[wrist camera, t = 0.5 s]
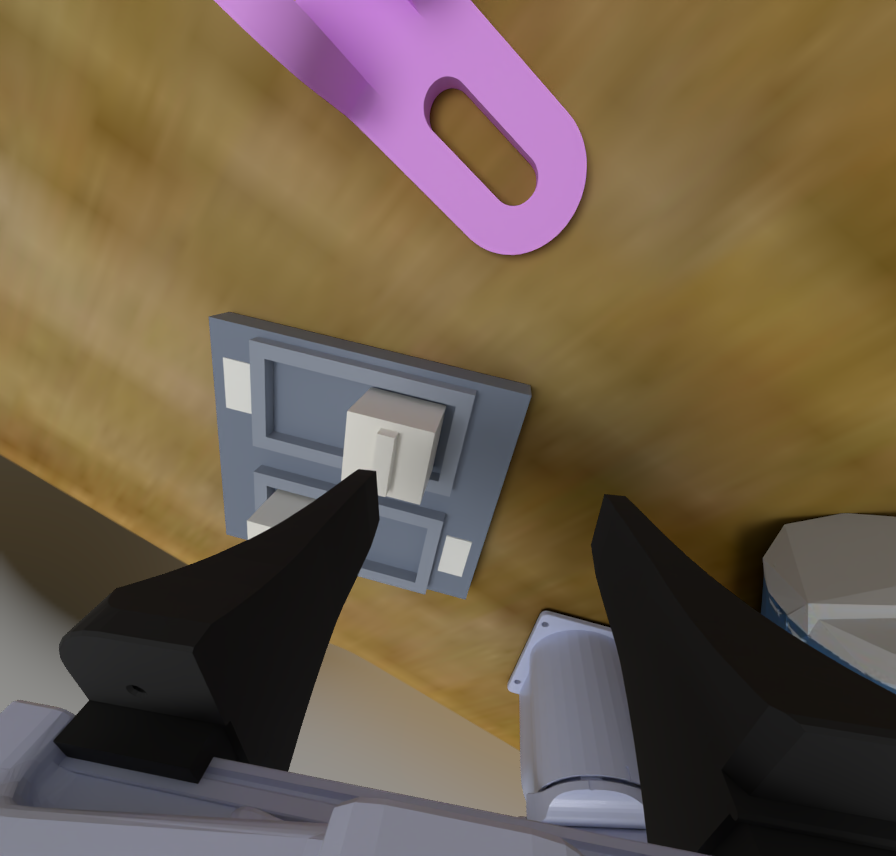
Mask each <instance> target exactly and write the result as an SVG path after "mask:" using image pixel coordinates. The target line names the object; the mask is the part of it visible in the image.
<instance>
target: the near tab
mask: <svg viewBox="0 0 896 856" xmlns="http://www.w3.org/2000/svg"><path fill="white" fill-rule="evenodd" d="M445 410H446V406H445V405H441V404H437V403H433V402H429V401H425V400H421V399H417V398H413V397H409V396H405V395H401V394H397V393H393V392H389V391H385V390H381V389H377V388H373V387H371V388H370V389H369V390H368V391H367V392H366V393H365V394H364V395H363V396H362V397H361V398H360V399H359V400H358V401H357V402H356V403H355V404H354V405H353V406H352V407H351V408H350V409H349V410H348V411H347V419H346V430H345V441H344V452H343V463H342V475H341V481H342V480H344V479H345V478H346V477H348V476H349V475H350V474H352V473H353V472H355V471H356V470H358V469H363V470H373V471H376V475H377V489H378V496H382V497H386V496H388V497H391V498H395V499H399V500H403V501H407V502H410V503H414V504H418V505H420V503H421V501H422V498H423V495H424V492H425V489H426V487H427V484H428V481H429V478H430V475H431V473H432V469H433V465H434V460H435V456H436V451H437V446H438V442H439V437H440V433H441V428H442V424H443V419H444V414H445Z"/></svg>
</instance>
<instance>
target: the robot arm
mask: <svg viewBox="0 0 896 856" xmlns="http://www.w3.org/2000/svg"><path fill="white" fill-rule="evenodd" d="M379 521H380V516H379V503H378V489H377V475H376V471H373V470H363V469H358V470H356V471H355V472H353V473H352V474H350V475H349V476H348V477H346V478H345V479H344V480H342V481H341V482H340V483H338V484H337V485H336V486H334V487H333V488H331V489H330V490H329V491H327V492H326V493H324V494H323V495H322V496H320V497H319V498H317V499H316V500H315V501H313V502H312V503H310V504H309V505H307V506H306V507H304V508H302V509H301V510H299V511H298V512H296V513H295V514H293V515H292V516H290V517H289V518H287V519H285V520H284V521H282V522H280V523H279V524H277V525H275V526H273V527H272V528H270V529H268V530H266V531H264V532H262V533H260V534H258V535H257V536H255V537H253V538H251V539H249V540H246V541H244V542H242V543H240V544H238V545H236V546H233V547H231V548H229V549H227V550H225V551H222V552H220V553H218V554H216V555H213V556H211V557H208V558H206V559H203V560H201V561H198V562H196V563H193V564H190V565H188V566H185V567H182V568H180V569H177V570H174V571H171V572H168V573H165V574H162V575H159V576H156V577H152V578H149V579H146V580H143V581H140V582H136V583H133V584H130V585H127V586H123V587H119V588H116V589H115V590H114V591H113V592H112V593H111V594H109V595H108V596H107V597H106V598H105V599H104V600H103V601H102V602H101V603H100V604H99V605H97V607H95V608H94V609H93V610H92V611H91V612H90V613H89V614H88V615H86V616H85V617H84V618H83V619H82V620H81V621H80V622H79V623H78V624H77V625H76V626H74V627H73V628H72V629H71V630H70V631H69V632H68V633H67V634H66V635H65V636H64V637H63V638H62V640H61V642H60V644H59V652H60V658H61V660H62V662H63V663H64V665H65V667H66V669H67V670H68V671H69V673H70V674H71V675H72V677H73V678H74V680H75V681H76V682H77V683H78V685H79V687H80V688H81V689H82V691H83V692H84V693H85V695H86V696H87V698H88V699H89V701H88V702H87V704H86V705H85V706H84V707H83V708H82V709H81V710H80V711H79V713H78V714H77V715H76V716H75V715H74V714H73V713H71V712H69V711H67V710H65V709H62V708H58V707H54V706H49V705H43V704H38V703H33V702H27V701H23V700H17V701H13V702H12V703H11V704H10V705H8V706H7V707H6V708H5V709H4V710H3V711H2V712H1V713H0V856H896V694H895V693H893V692H891V691H889V690H887V689H885V688H883V687H881V686H880V685H878V684H876V683H874V682H872V681H870V680H868V679H866V678H865V677H863V676H861V675H859V674H857V673H855V672H853V671H852V670H850V669H848V668H846V667H845V666H843V665H841V664H840V663H838V662H836V661H835V660H833V659H831V658H830V657H828V656H826V655H824V654H823V653H821V652H819V651H818V650H816V649H814V648H813V647H811V646H809V645H808V644H806V643H805V642H803V641H801V640H800V639H798V638H797V637H795V636H793V635H792V634H790V633H789V632H787V631H786V630H784V629H783V628H781V627H780V626H778V625H777V624H775V623H774V622H772V621H771V620H769V619H768V618H766V617H765V616H763V615H762V614H760V613H759V612H757V611H756V610H755V609H753V608H752V607H750V606H749V605H748V604H746V603H745V602H743V601H742V600H741V599H739V598H738V597H737V596H735V595H734V594H733V593H731V592H730V591H729V590H728V589H726V588H725V587H724V586H722V585H721V584H720V583H718V582H717V581H716V580H715V579H713V578H712V577H711V576H710V575H708V574H707V573H706V572H705V571H704V570H703V569H701V568H700V567H699V566H698V565H697V564H696V563H695V562H693V561H692V560H691V559H690V558H689V557H688V556H686V555H685V554H684V553H683V552H682V551H681V550H680V549H679V548H678V547H677V546H676V545H675V544H673V543H672V542H671V541H670V540H669V539H668V538H667V537H666V536H665V535H664V534H663V533H662V532H661V531H660V530H659V529H658V528H657V527H656V526H655V525H654V524H653V523H652V522H651V521H650V520H649V519H648V518H647V517H646V516H645V515H644V514H643V513H642V512H641V511H640V510H639V509H638V508H637V507H636V506H635V505H634V504H633V503H632V502H631V501H630V500H629V499H628V498H627V497H626V496H617V495H607V494H604V498H603V502H602V506H601V509H600V513H599V517H598V521H597V525H596V528H595V532H594V536H593V540H592V543H591V547H592V554H593V561H594V567H595V574H596V578H597V582H598V585H599V589H600V592H601V596H602V599H603V603H604V606H605V610H606V613H607V617H608V620H609V624H610V627H611V628H610V627H606V626H603V625H599V624H595V623H592V622H588V621H584V620H581V619H577V618H573V617H569V616H566V615H562V614H558V613H555V612H551V611H543V612H541V613H540V615H539V617H538V619H537V621H536V624H535V626H534V628H533V630H532V632H531V634H530V637H529V639H528V641H527V643H526V645H525V647H524V649H523V652H522V654H521V656H520V658H519V660H518V662H517V664H516V667H515V669H514V671H513V673H512V675H511V677H510V679H509V682H508V690H509V691H510V692H513V693H517V694H519V698H520V762H521V782H522V789H523V793H524V796H525V800H526V808H527V817H523V816H520V817H513V816H509V815H504V814H498V813H493V812H488V811H483V810H478V809H473V808H468V807H463V806H458V805H453V804H448V803H443V802H438V801H433V800H428V799H423V798H418V797H413V796H408V795H403V794H398V793H393V792H388V791H383V790H377V789H373V788H368V787H362V786H357V785H352V784H347V783H342V782H337V781H332V780H327V779H322V778H317V777H312V776H307V775H302V774H296V773H292V772H288V770H289V766H290V763H291V760H292V756H293V753H294V749H295V746H296V743H297V739H298V735H299V732H300V729H301V726H302V723H303V719H304V716H305V713H306V710H307V706H308V704H309V700H310V697H311V694H312V691H313V688H314V684H315V682H316V679H317V676H318V673H319V670H320V667H321V664H322V661H323V658H324V655H325V652H326V649H327V646H328V644H329V641H330V638H331V635H332V633H333V630H334V627H335V624H336V622H337V619H338V617H339V615H340V612H341V610H342V607H343V605H344V603H345V601H346V599H347V597H348V595H349V593H350V591H351V589H352V586H353V584H354V582H355V580H356V578H357V576H358V574H359V572H360V570H361V568H362V565H363V563H364V561H365V559H366V557H367V555H368V553H369V550H370V548H371V546H372V543H373V540H374V537H375V534H376V530H377V527H378V524H379Z"/></svg>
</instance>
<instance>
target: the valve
mask: <svg viewBox="0 0 896 856" xmlns="http://www.w3.org/2000/svg"><path fill="white" fill-rule="evenodd" d="M763 568H764V581H763V593H762V605H761V614H762V615H763V616H765V617H766V618H768V619H769V620H771V621H772V622H774V623H775V624H777V625H778V626H780V627H781V628H783V629H784V630H786V631H787V632H789V633H790V634H792V635H793V636H795V637H797V638H798V639H800V640H801V641H803V642H805V643H806V644H808V645H809V646H811V647H813V648H814V649H816V650H818V651H819V652H821V653H823V654H824V655H826V656H828V657H830V658H831V659H833V660H835V661H836V662H838V663H840V664H841V665H843V666H845V667H846V668H848V669H850V670H852V671H853V672H855V673H857V674H859V675H861V676H863V677H865V678H866V679H868V680H870V681H872V682H874V683H876V684H878V685H880V686H881V687H883V688H885V689H887V690H889V691H891V692H893V693H895V694H896V517H893V516H879V515H865V514H852V513H843V514H837V515H832V516H827V517H821V518H816V519H811V520H805V521H800V522H795V523H789V524H784V526H783V527H782V529H781V531H780V532H779V534H778V535H777V537H776V538H775V540H774V541H773V543H772V545H771V546H770V548H769V549H768V551H767V552H766V554H765V555H764V557H763Z"/></svg>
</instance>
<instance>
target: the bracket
mask: <svg viewBox="0 0 896 856" xmlns="http://www.w3.org/2000/svg"><path fill="white" fill-rule="evenodd" d="M214 1H215V2H216V3H217V4H218V5H219V6H220V7H221V8H222V9H223V10H224V11H225V12H226V13H228V14H229V15H230V16H231V17H232V18H233V19H234V20H235V21H236V22H237V23H238V24H239V25H240V26H241V27H242V28H243V29H244V30H245V31H246V32H247V33H248V34H250V35H251V36H252V37H253V38H254V39H255V40H256V41H257V42H258V43H259V44H260V45H261V46H262V47H264V48H265V49H266V50H267V51H268V52H269V53H270V54H271V55H272V56H273V57H274V58H276V59H277V60H278V61H279V62H280V63H281V64H282V65H283V66H285V67H286V68H287V69H288V70H289V71H290V72H291V73H292V74H294V75H295V76H296V77H297V78H298V79H300V80H301V81H302V82H303V83H304V84H306V85H307V86H308V87H309V88H311V89H312V90H313V91H315V92H316V93H317V94H318V95H320V96H321V97H322V98H324V99H325V100H326V101H327V102H329V103H330V104H331V105H332V106H334V107H335V108H336V109H338V110H339V111H340V112H341V113H343V114H344V115H345V116H347V117H348V118H349V119H350V120H351V121H352V122H353V123H354V124H355V125H357V126H358V127H359V128H360V129H361V130H362V131H363V132H364V133H365V134H366V135H367V136H368V137H369V138H370V139H371V140H372V141H373V142H374V143H375V144H376V145H377V146H378V147H379V148H380V149H381V150H382V151H383V152H384V153H385V154H386V155H387V156H388V157H389V158H390V159H391V160H392V161H393V162H394V163H395V164H396V165H397V166H398V167H399V168H400V169H401V170H402V171H403V172H404V173H405V174H406V175H407V176H408V177H409V178H410V179H411V180H412V181H413V182H414V183H415V184H416V185H417V186H418V187H419V188H420V189H421V190H422V191H423V192H424V193H425V194H426V195H427V196H428V197H429V198H430V199H431V200H432V201H433V202H434V203H435V204H436V205H437V206H438V207H439V208H440V209H441V210H442V211H443V212H444V213H445V214H446V215H447V216H448V217H449V218H450V219H451V220H452V221H453V222H454V223H455V224H456V225H457V226H458V227H459V228H460V229H461V230H462V231H463V232H464V233H465V234H466V235H467V236H468V237H469V238H470V239H471V240H472V241H473V242H475V243H476V244H477V245H479V246H480V247H482V248H484V249H486V250H488V251H491V252H494V253H498V254H504V255H516V254H523V253H527V252H530V251H533V250H535V249H538V248H540V247H542V246H543V245H545V244H547V243H548V242H549V241H551V240H552V239H553V238H554V237H556V236H557V235H558V234H559V233H560V232H561V231H562V230H563V229H564V227H565V226H566V225H567V224H568V222H569V221H570V219H571V218H572V216H573V214H574V213H575V211H576V209H577V207H578V205H579V202H580V200H581V197H582V194H583V190H584V186H585V180H586V171H587V160H586V151H585V146H584V142H583V139H582V136H581V133H580V131H579V129H578V127H577V125H576V123H575V122H574V120H573V118H572V117H571V116H570V115H569V113H568V112H567V111H566V110H565V109H564V107H563V106H562V105H561V104H560V103H559V102H558V101H557V99H556V98H555V97H554V96H553V95H552V94H551V92H550V91H549V90H548V89H547V88H546V87H545V86H544V84H543V83H542V82H541V81H540V80H539V79H538V77H537V76H536V75H535V74H534V73H533V72H532V71H531V69H530V68H529V67H528V66H527V65H526V64H525V63H524V61H523V60H522V59H521V58H520V57H519V56H518V54H517V53H516V52H515V51H514V50H513V49H512V48H511V46H510V45H509V44H508V43H507V42H506V41H505V39H504V38H503V37H502V36H501V35H500V34H499V33H498V31H497V30H496V29H495V28H494V27H493V26H492V24H491V23H490V22H489V21H488V20H487V19H486V18H485V16H484V15H483V14H482V13H481V12H480V11H479V10H478V8H477V7H476V6H475V5H474V4H473V3H472V1H471V0H296V1H294V0H214ZM450 88H455V89H459V90H461V91H463V92H464V93H465V94H466V95H467V96H468V97H469V98H470V99H471V100H472V101H473V103H474V104H475V105H476V106H477V107H478V108H479V109H480V110H481V111H482V112H483V113H484V115H485V116H486V117H487V118H488V119H489V120H490V121H491V122H492V123H493V124H494V125H495V126H496V128H497V129H498V130H499V131H500V132H501V133H502V134H503V135H504V136H505V137H506V138H507V140H508V141H509V142H510V143H511V144H512V145H513V146H514V147H515V148H516V149H517V150H518V152H519V153H520V154H521V155H522V156H523V157H524V158H525V159H526V160H527V161H528V162H529V163H530V165H531V166H532V167H533V169H534V171H535V174H536V180H537V182H536V189H535V192H534V193H533V195H532V196H531V197H530V199H528V200H527V201H526V202H525V203H523V204H521V205H518V206H508V205H505V204H503V203H502V202H500V201H499V200H498V199H497V198H496V197H495V195H494V194H493V193H492V192H491V191H490V190H489V189H488V188H487V187H486V186H485V185H484V184H483V183H482V182H481V181H480V180H479V179H478V178H477V177H476V176H475V175H474V174H473V173H472V172H471V170H470V169H469V168H468V167H467V166H466V165H465V164H464V163H463V162H462V161H461V160H460V159H459V158H458V157H457V156H456V155H455V154H454V153H453V152H452V151H451V150H450V149H449V148H448V146H447V145H446V144H445V143H444V142H443V141H442V140H441V139H440V138H439V137H438V136H437V135H436V134H435V133H434V132H433V131H432V128H431V125H430V110H431V106H432V103H433V101H434V100H435V98H436V97H437V96H438V95H439V94H440V93H441V92H442V91H444V90H446V89H450Z"/></svg>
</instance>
